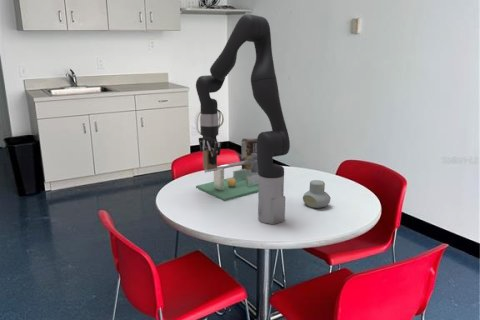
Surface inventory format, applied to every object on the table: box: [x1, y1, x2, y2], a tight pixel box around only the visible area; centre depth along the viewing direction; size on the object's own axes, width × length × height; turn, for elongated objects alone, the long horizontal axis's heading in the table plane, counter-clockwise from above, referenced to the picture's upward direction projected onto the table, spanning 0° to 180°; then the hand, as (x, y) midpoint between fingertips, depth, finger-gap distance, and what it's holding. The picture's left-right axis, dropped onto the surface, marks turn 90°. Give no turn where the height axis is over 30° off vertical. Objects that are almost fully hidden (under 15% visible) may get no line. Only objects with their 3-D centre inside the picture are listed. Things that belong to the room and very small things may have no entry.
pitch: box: [195, 176, 258, 202], centre depth 193 cm, size 22×24×1 cm
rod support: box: [251, 153, 259, 174], centre depth 200 cm, size 7×2×14 cm, turn 38°
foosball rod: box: [202, 148, 257, 191], centre depth 191 cm, size 5×31×18 cm, turn 128°
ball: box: [227, 177, 236, 187], centre depth 192 cm, size 4×4×4 cm
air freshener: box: [302, 179, 331, 209], centre depth 171 cm, size 11×8×10 cm
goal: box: [232, 168, 259, 187], centre depth 197 cm, size 11×6×5 cm, turn 38°
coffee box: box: [240, 138, 257, 171], centre depth 220 cm, size 9×6×16 cm
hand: (210, 163), depth 183 cm, fingers open, 5 cm apart
